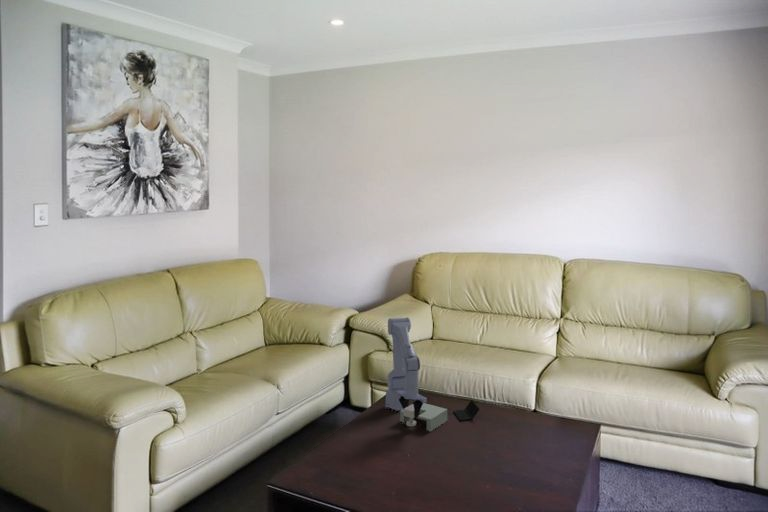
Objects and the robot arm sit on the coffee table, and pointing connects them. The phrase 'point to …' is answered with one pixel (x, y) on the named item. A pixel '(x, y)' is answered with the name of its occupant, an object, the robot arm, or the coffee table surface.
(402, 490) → the coffee table surface
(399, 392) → the robot arm
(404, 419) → the slot bracket
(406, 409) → the peg
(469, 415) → the handheld gaming console
